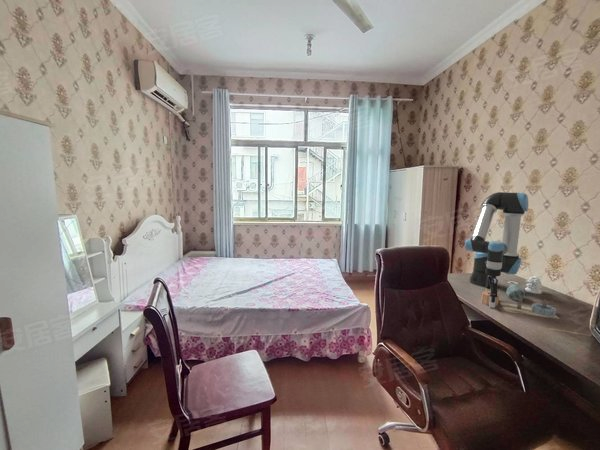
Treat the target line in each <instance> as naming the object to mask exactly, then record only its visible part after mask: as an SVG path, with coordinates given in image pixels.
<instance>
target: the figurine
mask: <svg viewBox="0 0 600 450" xmlns="http://www.w3.org/2000/svg"><path fill="white" fill-rule="evenodd" d="M538 276H539V275H538V274H537V275H534V276H532V275H530V277H529V279H527V280H525V282H526V284H525V285H526V287H525V288H524V291H525V292H528V293H531V294H539V295H541V294H542V293H543V291H542V290H541V288H542V287H543V284H542V281H541V278H539V277H538Z"/></svg>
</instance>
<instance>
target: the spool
mask: <svg viewBox="0 0 600 450" xmlns="http://www.w3.org/2000/svg"><path fill="white" fill-rule="evenodd" d="M506 295H507V297H508V298H510V300H513V301H515V302H518V298H519V296H521V297H523V298H522V301H523V300H524V299H525V296H526V290H525V288H523V287H522V286H520V285H517V284H510V285H509V286H508V287H507V289H506Z"/></svg>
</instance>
